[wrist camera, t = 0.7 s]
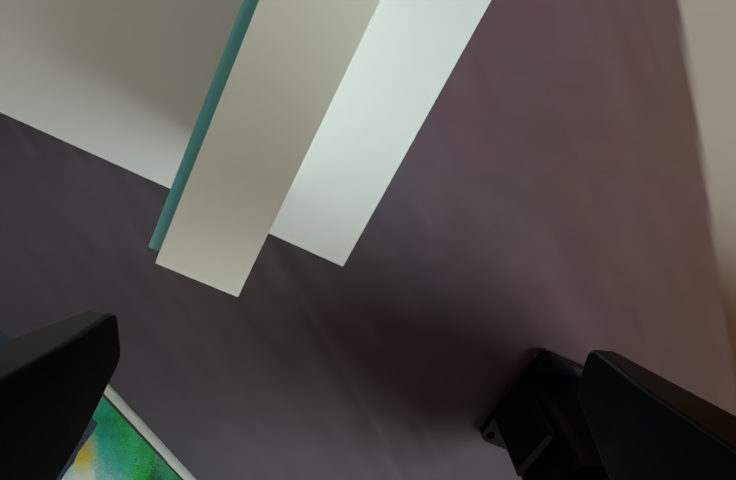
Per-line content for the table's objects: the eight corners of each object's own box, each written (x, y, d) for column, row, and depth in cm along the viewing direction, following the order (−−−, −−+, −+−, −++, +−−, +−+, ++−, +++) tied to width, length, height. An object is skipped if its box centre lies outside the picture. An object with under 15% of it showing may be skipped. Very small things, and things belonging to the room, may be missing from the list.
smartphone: (127, 557, 29) (-59, 390, 24) (133, 543, 30) (-45, 378, 25) (224, 519, 28) (53, 335, 23) (227, 506, 29) (63, 325, 24)
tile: (385, -25, 17) (430, -106, 8) (286, 183, 20) (237, 297, 11) (329, -59, 17) (311, -185, 8) (236, 159, 20) (141, 257, 11)
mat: (505, -32, 18) (510, -35, 17) (342, 261, 22) (343, 266, 22) (19, -353, 14) (6, -369, 14) (-60, 78, 19) (-73, 79, 18)
